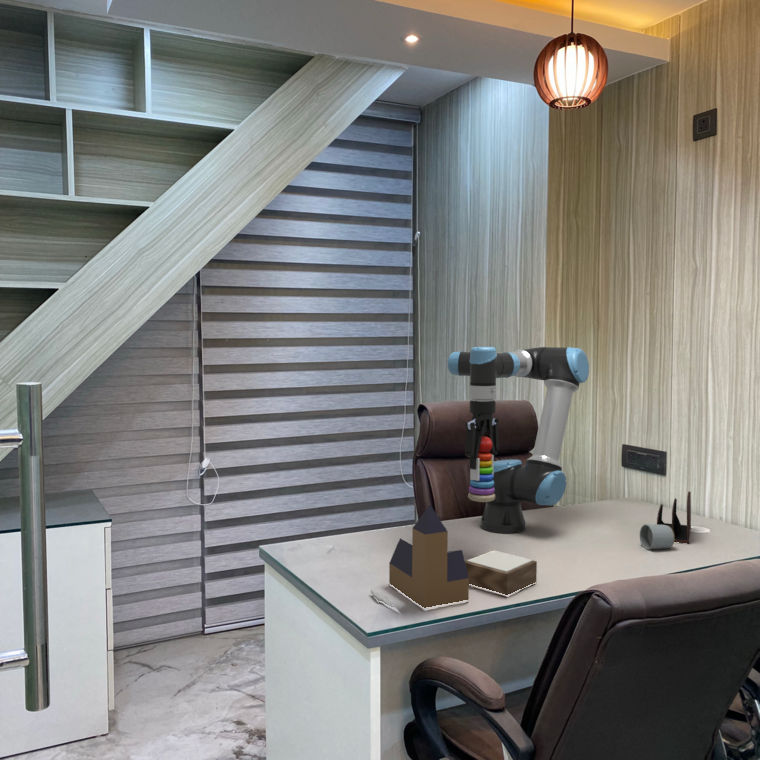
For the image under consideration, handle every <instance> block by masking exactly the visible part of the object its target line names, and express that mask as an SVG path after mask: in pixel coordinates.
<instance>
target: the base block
mask: <svg viewBox="0 0 760 760" xmlns="http://www.w3.org/2000/svg"><path fill="white" fill-rule="evenodd" d="M537 563H538V561H536V560H532V559H529V558H526V557H522V556H519V555H513V554H510V553H506V552H502V551H499V550H490V551H487V552H484V553H482V554H479V555H477V556H474V557H472V558H469V559H467V560H465V564H466V568H467V572H468V577H469V584H472V585H475V586H478V587H482V588H486V589H489V590H492V591H496V592H499V593H502V594H505V595H508V594H511V593H513V592H515V591H517V590H519V589H522V588H524V587H526V586H528V585H530V584H533V583H535V582H536V583H537V568H538V567H537V565H538V564H537Z"/></svg>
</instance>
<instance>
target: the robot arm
mask: <svg viewBox="0 0 760 760" xmlns="http://www.w3.org/2000/svg"><path fill="white" fill-rule="evenodd" d="M447 369H448V372H449V373H450V374H451V375H453V376H459V377H469V379H470V381H469V399H470V401H469V413H470V414H472V418H471V420H470V421H466V422H465V442H464V444H465V447H464V456H465V457H467V458H469V469H470V471H469V472H470V473H469V476H470V477H469V480H470V481H471V480H476V481H479V465H480V458H477V457H478V453H479V448H480V443H481V438H482V436H486V437H488V438H490V439H491V441H492V449H491V450H490V451H489V453H491V455H492V458H491V459H490V460H491V461H492V466H491V467H492V468H493V472H492V474H493V479H492V480H493V481H494V486H493V487H494V489H495V491H494V494H495V499H494V500H493V501H490V502H485V503H486V504H485V507H484V510H483V512H482V516H481V518H480V527H482V528H481V529H483V530H484V529H485V531H488V532H492V533H497V532H498V534H516V533H520V532H521V533H522V532H524V531H525V530H526V523H527V522H526V519H525V516H524V513H523V509H522V506H521V504H522V503H521V502H525V503H531V504H537V505H539V506H549V507H550V506H555V505H556V504H558V503H559V502H560V500H562V498H563V496H564V494H565V492H566V487H567V476H566V474H565V473H564V472H563V471H562V470H563V466H562V465H561V464H560V457H561V456H560V455H561V451H562V447H563V443H564V437H565V433H566V428H567V422H568V418H569V413H570V408H571V402H572V398H573V394H574V393H575V392H577V391H578V390H579V387H580V384H583V383H585V382H587V380H588V378H589V374H590V363H589V360H588V357H587V355H586V353H585V351H584V350H583V349H581V348H579V347H571V346H567V347H562V346H561V347H560V346H558V347H555V346H554V347H553V346H552V347H551V346H549V347H548V346H539V347H532V348H531V347H530V348H525V349H522V348H521V349H516V350H513V351H511V352H510V351H509V352H504V351H503V352H502V351H499V352H498V351H497V349H496V347H495V346H474V347H472V348H471V349H470V351H461V350H460V351H453V352H451V354H450V355H449V356H448V359H447ZM511 377H517V378H525V379H531V380H532V379H533V380H537V381H538V380H539V381H543V385H544V386H545V387H546V393H545V397H544V400H543V406H542V411H541V415H540V419H539V420H540V421H539V425H538V429H537V434H536V437H535V438H536V439H535V442H534V448H533V452H532V456H530V457H529V458H527V459H526V462H525V465H523V463H522V460H520V459H501V460H500V459H499V460H496V461H495V455H496V456H497V455H498V453H499V449H500V441H499V423H500V419H499V418H494V416H493V415H494V414H496V412H497V410H496V409H497V406H496V403H497V402H496V401H495V399H496V392H497V390H496V385H497V383H496V382H497V379H504V378H506V379H508V378H511Z"/></svg>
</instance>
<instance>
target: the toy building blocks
mask: <svg viewBox="0 0 760 760" xmlns="http://www.w3.org/2000/svg"><path fill="white" fill-rule="evenodd" d="M411 529H412V538H411V540H412V541H411V542H412V543H410V542H408V541H406V540H404V539H402V538H399V540H398V542H397V544H396V547H395V549H394V552H393V553H392V556H391V559H390V560H389V563H388V564H389V565H388V567H389V568H388V569H389V571H388V573H389V575H388V577H389V579H388V581H389V582H388V583H390V584H391V585H393V586H394V587H395V588H397V589H398V590H400V591H401V592H402V593H404V594H405V595H406V596H408V597H409V598H411V599H412V600H413V601H415V602H416V603H418V604H419V605H421V606H422V607H424V608H426V607H432V606H436V605H442V604H448V603H453V602H459V601H463V600H468V599H470V597H469V596H470V595H469V593H470V591H469V590H470V589H469V588H470V586H469V577H468V572H467V568H466V564H465V561H466V560H465V556H464V551H463V549H460V550H454V551H453V550H452V551H448V537H449V536H448V535H449V534H448V532H449V531H448V530H447V528H446V527H445V525H444V524H443V522H442V520H441V519H440V518H439V516H438V514H437V513H436V511H435V510H434V508H433V506H432V504H429V505H428V506H427V508H426V510H425V511H424V512H423V513H422V515H421V516H420V517H419V518H418V520H417V521H416V522H415V523H414V526H413V527H412V528H411Z"/></svg>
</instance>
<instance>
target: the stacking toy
mask: <svg viewBox="0 0 760 760" xmlns="http://www.w3.org/2000/svg"><path fill="white" fill-rule="evenodd" d="M491 449H492V441H491V439H490V438H488V437H486V436H482V438H481V443H480V448H479V453H478V457H477V458H480V465H479V481H476V480H470V481H469V484H470V485H469V487H468V491H469V492H468V495H467V498H468V499H469V500H470V501H473V502H476V503H477V502H478V503H486V502H490V501H493V500H494V499H495V494H494V491H495V489H494V487H493V486H494V481H493V480H492V479H493V474H492V472H493V468H492V467H491V466H492V461H491V460H490V459H491V458H492V455H491V453H489V451H490V450H491Z"/></svg>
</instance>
